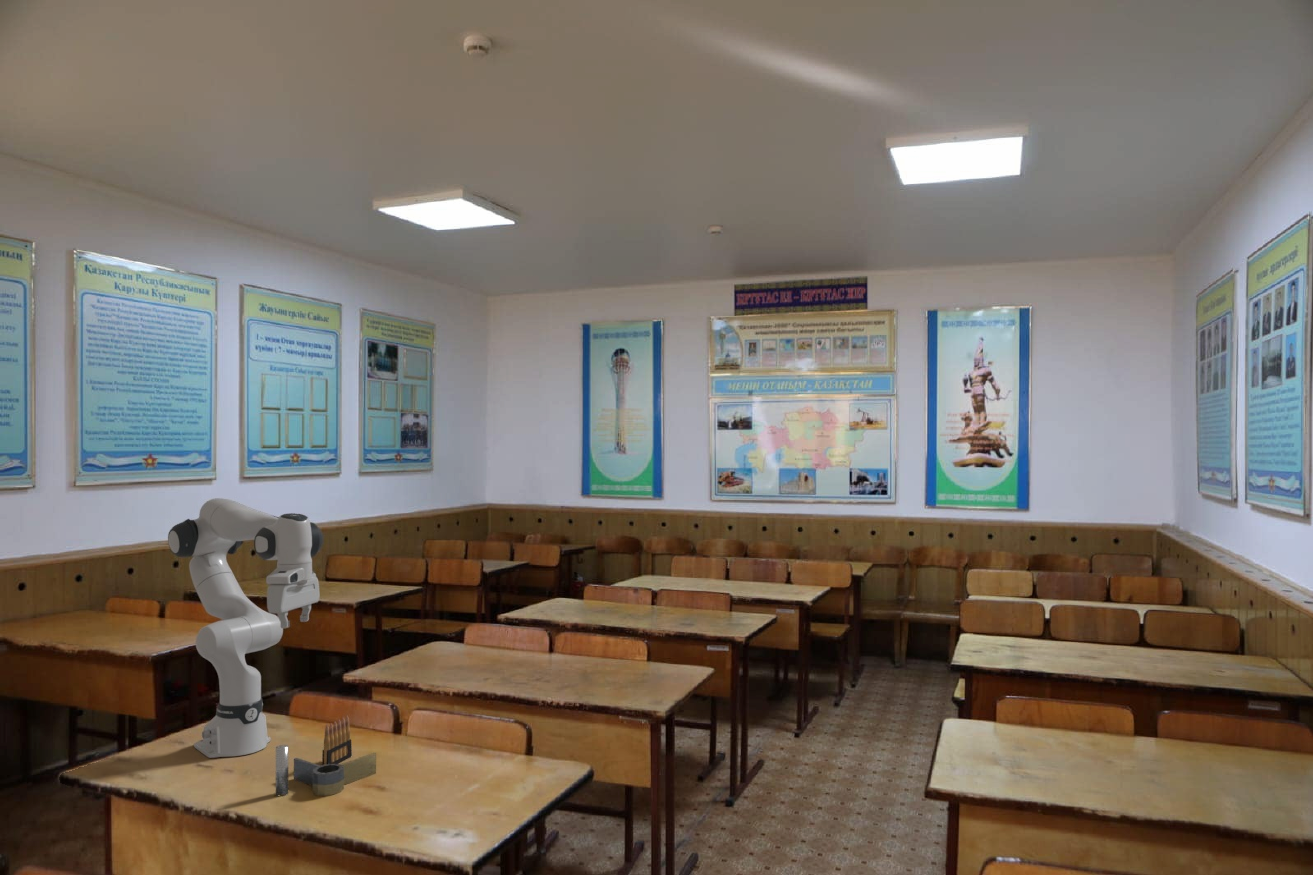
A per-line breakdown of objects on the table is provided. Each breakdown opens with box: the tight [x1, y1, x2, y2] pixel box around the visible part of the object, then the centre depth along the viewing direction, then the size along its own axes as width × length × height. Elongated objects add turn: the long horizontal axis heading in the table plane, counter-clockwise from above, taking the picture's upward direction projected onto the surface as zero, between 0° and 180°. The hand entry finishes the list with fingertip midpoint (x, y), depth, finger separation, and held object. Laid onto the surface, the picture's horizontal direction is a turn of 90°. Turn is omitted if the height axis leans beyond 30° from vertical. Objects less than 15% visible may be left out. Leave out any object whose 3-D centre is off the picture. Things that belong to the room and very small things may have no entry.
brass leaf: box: [312, 752, 377, 797], centre depth 227 cm, size 7×18×6 cm, turn 146°
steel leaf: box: [293, 757, 344, 787], centre depth 226 cm, size 18×7×6 cm, turn 56°
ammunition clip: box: [321, 715, 353, 766], centre depth 243 cm, size 11×2×12 cm, turn 163°
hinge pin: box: [275, 744, 289, 796], centre depth 221 cm, size 3×3×12 cm
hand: (294, 624), depth 233 cm, fingers open, 8 cm apart
